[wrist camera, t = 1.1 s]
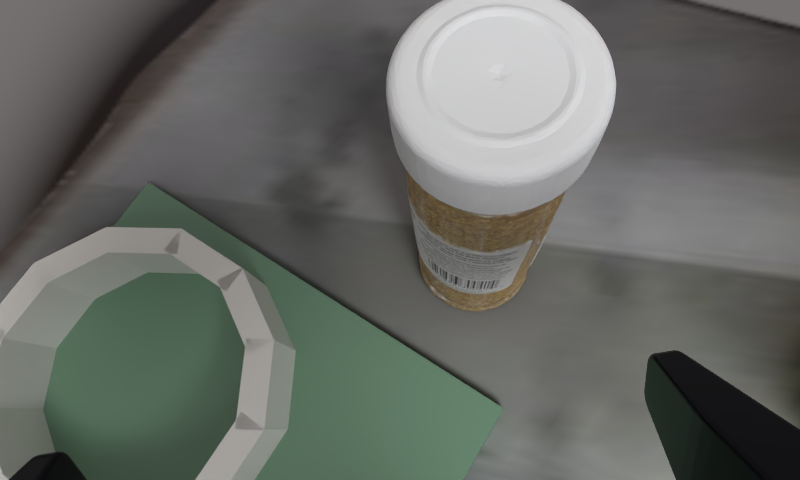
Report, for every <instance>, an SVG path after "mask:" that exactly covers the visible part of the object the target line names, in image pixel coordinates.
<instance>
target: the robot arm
mask: <svg viewBox="0 0 800 480" xmlns="http://www.w3.org/2000/svg"><path fill="white" fill-rule="evenodd" d="M644 393H645V400H646V404H647V407H648V410H649V412H650V415H651V417H652V420H653V422H654V425H655V428H656V430H657V433H658V435H659V438H660V440H661V443H662V445H663V448H664V450H665V453H666V455H667V458H668V460H669V463H670V465H671V468H672V471H673V473H674V476H675V478H676V480H800V429H798V428H797V427H795V426H794V425H792V424H790V423H789V422H787V421H786V420H784V419H783V418H781V417H780V416H778V415H777V414H775V413H774V412H772V411H771V410H769V409H768V408H766V407H765V406H763V405H762V404H760V403H758V402H757V401H755V400H754V399H752V398H751V397H749V396H748V395H746V394H745V393H743V392H742V391H740V390H739V389H737V388H736V387H734V386H733V385H731V384H729V383H728V382H726V381H725V380H723V379H722V378H720V377H719V376H717V375H716V374H714V373H713V372H711V371H710V370H708V369H707V368H705V367H704V366H702V365H701V364H699V363H697V362H696V361H694V360H693V359H691V358H690V357H688V356H687V355H685V354H684V353H682V352H679V351H675V350H674V351H667V352H661V353H655V354H652V355H651V356H650V357H649V359H648V363H647V372H646V381H645V391H644ZM9 480H87V478H86V477H85V476H84V474H83V473H82V472H81V470H80V469H79V468H78V467H77V465H76V464H75V463H74V461H73V460H72V459H71V457H70V456H69V455H68V454H67V453H65V452H62V451H58V452H52V453H46V454H40V455H37V456H35V457H33V458H32V459H30V460H29V461H28V462H27V463H26V464H25V465H24V466H23V467H22V468H20V469H19V470H18V471H17V472H16V473H15V474H14V475H13V476H12V477H11V478H10V479H9Z"/></svg>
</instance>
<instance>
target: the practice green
mask: <svg viewBox="0 0 800 480" xmlns="http://www.w3.org/2000/svg"><path fill="white" fill-rule="evenodd" d="M503 409H504V408H502V407H501V406H499V405H498V404H496V403H494V402H493V401H491V400H490V399H488V398H487V397H485V396H483V395H482V394H480V393H479V392H477V391H476V390H474V389H472V388H471V387H469V386H468V385H466V384H465V383H463V382H461V381H460V380H458V379H457V378H455V377H454V376H452V375H450V374H449V373H447V372H446V371H444V370H443V369H441V368H439V367H438V366H436V365H435V364H433V363H432V362H430V361H428V360H427V359H425V358H424V357H422V356H421V355H419V354H417V353H416V352H414V351H413V350H411V349H410V348H408V347H406V346H405V345H403V344H402V343H400V342H399V341H397V340H395V339H394V338H392V337H391V336H389V335H388V334H386V333H384V332H383V331H381V330H380V329H378V328H377V327H375V326H373V325H372V324H370V323H369V322H367V321H366V320H364V319H362V318H361V317H359V316H358V315H356V314H355V313H353V312H351V311H350V310H348V309H347V308H345V307H344V306H342V305H340V304H339V303H337V302H336V301H334V300H333V299H331V298H329V297H328V296H326V295H325V294H323V293H322V292H320V291H318V290H317V289H315V288H314V287H312V286H311V285H309V284H307V283H306V282H304V281H303V280H301V279H300V278H298V277H296V276H295V275H293V274H292V273H290V272H289V271H287V270H285V269H284V268H282V267H281V266H279V265H278V264H276V263H274V262H273V261H271V260H270V259H268V258H267V257H265V256H263V255H262V254H260V253H259V252H257V251H256V250H254V249H252V248H251V247H249V246H248V245H246V244H245V243H243V242H241V241H240V240H238V239H237V238H235V237H234V236H232V235H230V234H229V233H227V232H226V231H224V230H223V229H221V228H219V227H218V226H216V225H215V224H213V223H212V222H210V221H208V220H207V219H205V218H204V217H202V216H201V215H199V214H197V213H196V212H194V211H193V210H191V209H190V208H188V207H186V206H185V205H183V204H182V203H180V202H179V201H177V200H175V199H174V198H172V197H171V196H169V195H168V194H166V193H164V192H163V191H161V190H160V189H158V188H157V187H155V186H153V185H152V184H150V183H149V182H148V183H147V185H146V186H145V187H144V188H143V190H142V191H141V192H140V193H139V195H138V196H137V197H136V198H135V200H134V201H133V202H132V203H131V205H130V206H129V207H128V208H127V210H126V211H125V212H124V213H123V215H122V216H121V217H120V218H119V220H118V221H117V222H116V223H115V225H114V226H113V227H105V228H103V229H101V230H99V231H97V232H95V233H93V234H91V235H89V236H87V237H85V238H83V239H81V240H79V241H77V242H75V243H73V244H71V245H69V246H67V247H65V248H63V249H61V250H59V251H57V252H55V253H53V254H51V255H49V256H47V257H45V258H43V259H41V260H39V261H37V262H34V263H33V264H32V266H31V267H30V268H29V269H28V271H27V272H26V273H25V274H24V275H23V277H22V278H21V279H20V280H19V281H18V283H17V284H16V285H15V286H14V288H13V289H12V290H11V291H10V292H9V294H8V295H7V296H6V297H5V299H4V300H3V301H2V302H1V303H0V480H9V479H10V478H11V477H12V476H13V475H14V474H15V473H16V472H17V471H18V470H19V469H20V468H22V467H23V466H24V465H25V464H26V463H27V462H28V461H29V460H30V459H32V458H33V457H35V456H37V455H40V454H46V453H52V452H58V451H62V452H65V453H67V454H68V455H69V456H70V457H71V459H72V460H73V461H74V463H75V464H76V465H77V467H78V468H79V469H80V470H81V472H82V473H83V474H84V476H85V477H86V478H87V480H463V479H464V478H465V476H466V474H467V472H468V471H469V469H470V467H471V465H472V464H473V462H474V460H475V458H476V457H477V455H478V453H479V451H480V449H481V448H482V446H483V444H484V442H485V441H486V439H487V437H488V435H489V434H490V432H491V430H492V428H493V427H494V425H495V423H496V421H497V420H498V418H499V416H500V414H501V412H502V411H503Z"/></svg>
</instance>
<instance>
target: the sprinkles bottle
mask: <svg viewBox="0 0 800 480" xmlns="http://www.w3.org/2000/svg"><path fill="white" fill-rule="evenodd" d="M615 94H616V78H615V71H614V67H613V62H612V59H611V56H610V53H609V51H608V49H607V47H606V45H605V43H604V41H603V39H602V37H601V36H600V34H599V33H598V32H597V30H596V29H595V28H594V27H593V25H592V24H591V23H590V22H589V21H588V20H587V19H586V18H585V17H584V16H583V15H582V14H581V13H579V12H578V11H577V10H575V9H574V8H573V7H571V6H570V5H568V4H566V3H564V2H562V1H560V0H443V1H441V2H439V3H437V4H435V5H434V6H432V7H431V8H429V9H427V10H426V11H425V12H424V13H422V14H421V15H420V16H419V17H418V18H417V19H416V20H415V21H414V22H413V23H412V24H411V25H410V26H409V27H408V29H407V30H406V31H405V33H404V34H403V35H402V37H401V38H400V40H399V41H398V43H397V45H396V47H395V50H394V52H393V55H392V57H391V60H390V63H389V67H388V72H387V79H386V99H387V106H388V112H389V119H390V126H391V132H392V136H393V140H394V144H395V148H396V151H397V153H398V155H399V158H400V160H401V162H402V163H403V165H404V167H405V168H406V174H407V192H408V198H409V204H410V209H411V215H412V221H413V226H414V232H415V237H416V242H417V247H418V251H419V263H420V269H421V274H422V276H423V279H424V281H425V283H426V284H427V286H428V287H429V289H430V290H431V291H432V292H433V294H434V295H435V296H436V297H437V298H439V299H441V300H442V301H443V302H445V303H446V304H448V305H451V306H453V307H455V308H457V309H460V310H466V311H484V310H488V309H491V308H496V307H498V306H500V305H501V304H503V303H505V302H507V301H508V300H509V299H511V298H512V297H513V296H514V295H515V294H516V293H517V292H518V291H519V289H520V287H521V286H522V284H523V283H524V281H525V279H526V274H527V271H528V267H530V266H531V264H532V263H533V261H534V259H535V258H536V256H537V254H538V252H539V250H540V248H541V246H542V244H543V242H544V240H545V238H546V236H547V234H548V231H549V228H550V224H551V222H552V220H553V217H554V215H555V213H556V211H557V209H558V207H559V205H560V203H561V201H562V198H563V195H564V193H565V191H566V190H567V189H568V188H569V187H570V186H571V185H572V184H573V183H574V182H575V181H576V180H577V179H578V178H579V177H580V176H581V175H582V173H583V172H584V170H585V169H586V168H587V166H588V165H589V163H590V161H591V159H592V157H593V155H594V153H595V151H596V149H597V147H598V145H599V143H600V141H601V139H602V137H603V134H604V132H605V130H606V127H607V125H608V123H609V120H610V117H611V115H612V111H613V107H614V102H615Z"/></svg>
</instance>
